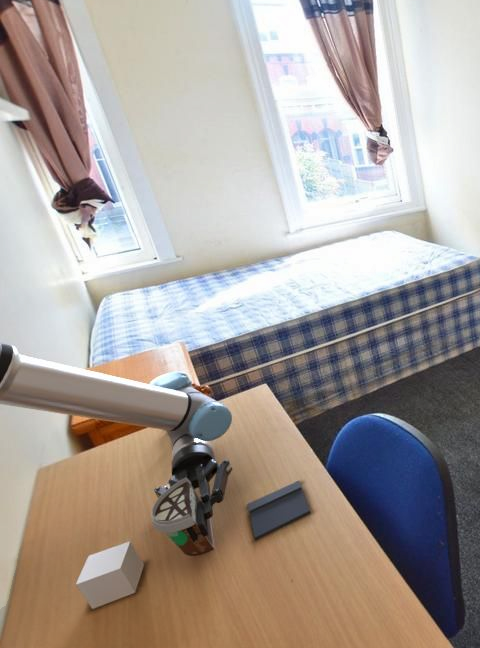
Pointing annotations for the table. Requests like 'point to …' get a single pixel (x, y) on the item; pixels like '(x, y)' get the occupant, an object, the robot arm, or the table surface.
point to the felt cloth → (277, 509)
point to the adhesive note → (110, 575)
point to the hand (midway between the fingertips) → (197, 532)
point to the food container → (181, 518)
